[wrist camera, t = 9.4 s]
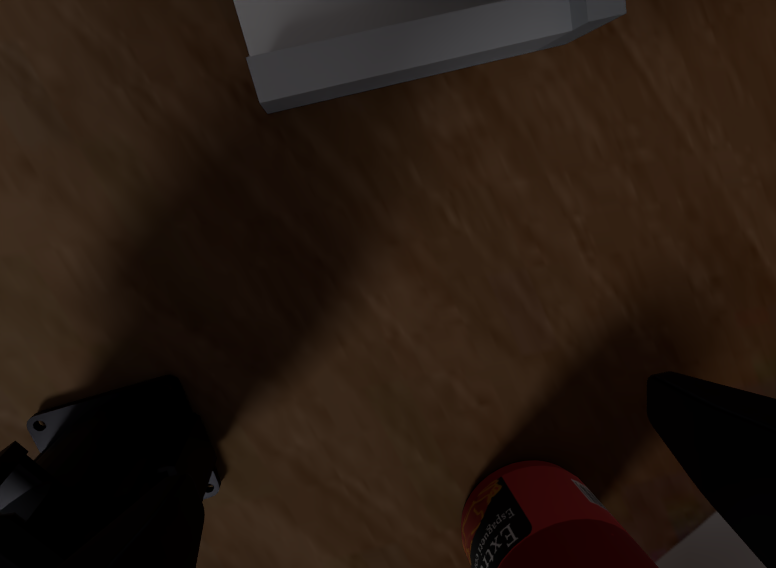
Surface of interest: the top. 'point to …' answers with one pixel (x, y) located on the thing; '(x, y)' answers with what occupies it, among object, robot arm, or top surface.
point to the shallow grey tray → (395, 40)
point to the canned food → (543, 523)
